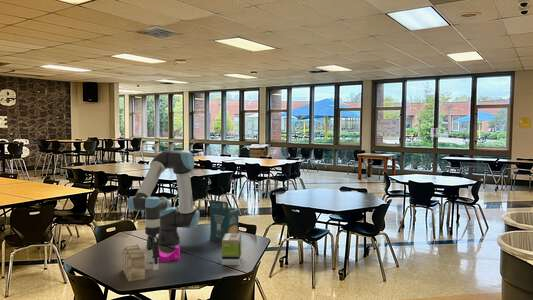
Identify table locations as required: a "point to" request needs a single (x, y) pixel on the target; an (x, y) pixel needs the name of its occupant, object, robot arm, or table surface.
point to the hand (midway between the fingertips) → (152, 265)
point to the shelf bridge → (133, 262)
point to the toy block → (169, 255)
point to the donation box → (222, 220)
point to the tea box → (231, 249)
